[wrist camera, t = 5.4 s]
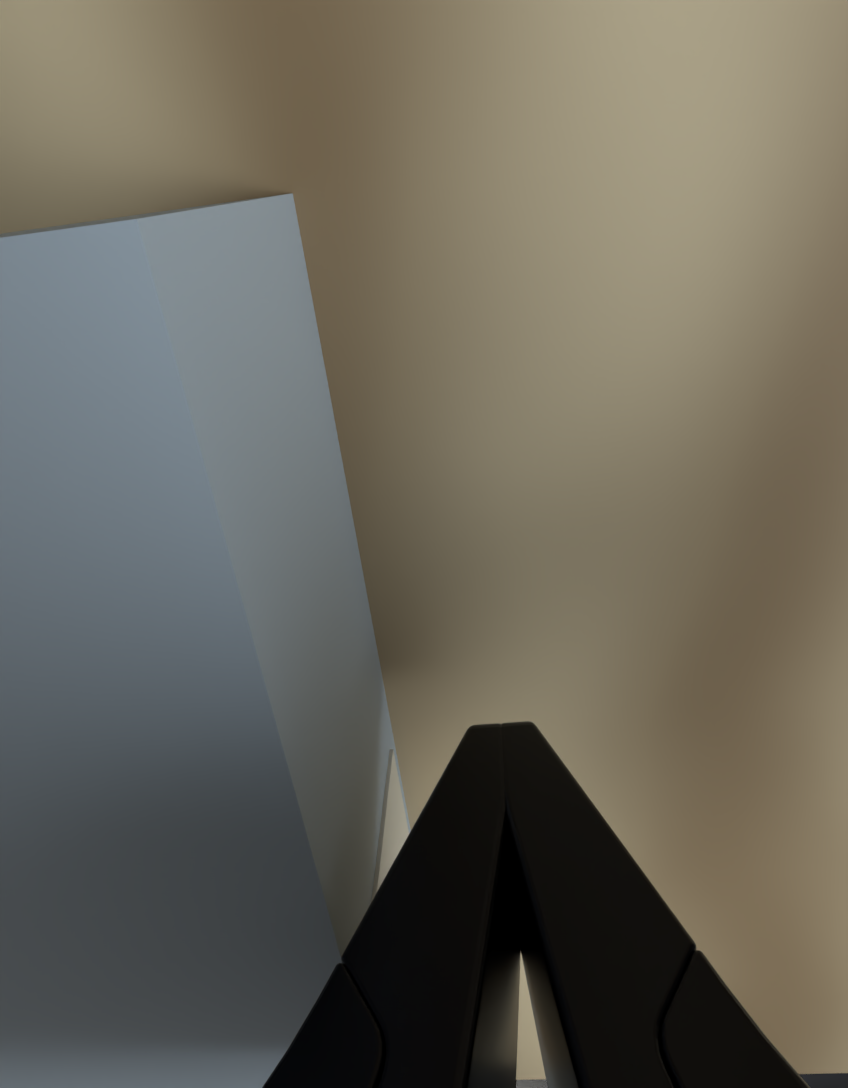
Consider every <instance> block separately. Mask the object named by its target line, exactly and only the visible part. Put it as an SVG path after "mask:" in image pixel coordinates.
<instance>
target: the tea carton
mask: <svg viewBox="0 0 848 1088" xmlns="http://www.w3.org/2000/svg"><path fill="white" fill-rule="evenodd" d="M410 832H411V829H410V824H409V818H408V813H407V808H406V802H405V797H404V791H403V786H402V781H401V775H400V770H399V764H398V759H397V754H396V748H395V743H394V737H393V732H392V727H391V721H390V716H389V710H388V705H387V700H386V694H385V689H384V683H383V678H382V673H381V667H380V662H379V656H378V651H377V646H376V640H375V635H374V629H373V624H372V619H371V613H370V608H369V602H368V597H367V592H366V586H365V581H364V575H363V570H362V565H361V559H360V554H359V548H358V543H357V538H356V532H355V527H354V521H353V516H352V511H351V505H350V500H349V494H348V489H347V484H346V478H345V473H344V467H343V462H342V457H341V451H340V446H339V440H338V435H337V430H336V424H335V419H334V414H333V408H332V403H331V397H330V392H329V387H328V381H327V376H326V370H325V365H324V360H323V354H322V349H321V343H320V338H319V333H318V327H317V322H316V316H315V311H314V306H313V300H312V295H311V289H310V284H309V279H308V273H307V268H306V262H305V257H304V252H303V246H302V241H301V236H300V230H299V225H298V219H297V214H296V209H295V203H294V198H293V193H291V194H283V195H276V196H269V197H262V198H254V199H247V200H240V201H233V202H226V203H218V204H211V205H204V206H197V207H190V208H182V209H175V210H168V211H161V212H154V213H146V214H139V215H132V216H125V217H117V218H110V219H103V220H96V221H89V222H81V223H74V224H67V225H60V226H53V227H45V228H38V229H31V230H24V231H16V232H9V233H2V234H0V1088H262V1087H263V1085H264V1084H265V1082H266V1081H267V1079H268V1078H269V1076H270V1075H271V1073H272V1072H273V1070H274V1069H275V1067H276V1066H277V1064H278V1063H279V1061H280V1060H281V1058H282V1057H283V1055H284V1054H285V1052H286V1051H287V1049H288V1048H289V1046H290V1044H291V1043H292V1041H293V1039H294V1038H295V1036H296V1034H297V1033H298V1031H299V1029H300V1028H301V1026H302V1024H303V1022H304V1021H305V1019H306V1017H307V1016H308V1014H309V1012H310V1011H311V1009H312V1007H313V1006H314V1004H315V1002H316V1001H317V999H318V997H319V995H320V993H321V992H322V990H323V988H324V986H325V984H326V983H327V981H328V979H329V977H330V975H331V973H332V972H333V970H334V968H335V966H336V965H337V964H338V963H342V961H341V956H342V954H343V953H344V951H345V949H346V947H347V945H348V943H349V942H350V940H351V938H352V936H353V934H354V933H355V931H356V929H357V927H358V925H359V924H360V922H361V920H362V918H363V916H364V915H365V913H366V911H367V909H368V907H369V906H370V904H371V902H372V900H373V898H374V897H375V895H376V893H377V891H378V889H379V888H380V886H381V884H382V882H383V880H384V878H385V877H386V875H387V873H388V871H389V869H390V868H391V866H392V864H393V862H394V860H395V859H396V857H397V855H398V853H399V851H400V850H401V848H402V846H403V844H404V842H405V841H406V839H407V837H408V835H409V833H410Z"/></svg>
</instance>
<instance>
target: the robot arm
mask: <svg viewBox="0 0 848 1088" xmlns="http://www.w3.org/2000/svg"><path fill="white" fill-rule="evenodd" d="M521 955H522V960H523V965H524V970H525V975H526V980H527V985H528V990H529V995H530V1000H531V1005H532V1010H533V1015H534V1020H535V1025H536V1030H537V1036H538V1041H539V1046H540V1051H541V1056H542V1061H543V1066H544V1071H545V1076H546V1081H547V1086H548V1088H810V1087H809V1085H808V1084H807V1083H806V1082H805V1081H804V1080H803V1078H802V1077H801V1076H800V1075H799V1074H798V1073H797V1072H796V1070H795V1069H794V1068H793V1067H792V1066H791V1065H790V1063H789V1062H788V1061H787V1060H786V1059H785V1058H784V1056H783V1055H782V1054H781V1053H780V1052H779V1051H778V1049H777V1048H776V1047H775V1046H774V1045H773V1044H772V1042H771V1041H770V1040H769V1039H768V1038H767V1036H766V1035H765V1034H764V1033H763V1031H762V1030H761V1029H760V1027H759V1026H758V1025H757V1024H756V1022H755V1021H754V1020H753V1018H752V1017H751V1016H750V1015H749V1013H748V1012H747V1011H746V1009H745V1008H744V1007H743V1006H742V1004H741V1003H740V1002H739V1000H738V999H737V998H736V997H735V995H734V994H733V993H732V991H731V990H730V989H729V988H728V986H727V985H726V984H725V982H724V981H723V980H722V978H721V977H720V975H719V974H718V973H717V971H716V970H715V969H714V967H713V966H712V964H711V963H710V962H709V960H708V959H707V958H706V956H705V955H704V954H703V952H702V951H700V950H696V943H695V942H694V940H693V939H692V938H691V936H690V935H689V934H688V932H687V931H686V930H685V928H684V927H683V925H682V924H681V923H680V921H679V920H678V919H677V917H676V916H675V915H674V913H673V912H672V910H671V909H670V908H669V906H668V905H667V904H666V902H665V901H664V900H663V898H662V897H661V895H660V894H659V893H658V891H657V890H656V889H655V887H654V886H653V884H652V883H651V882H650V880H649V879H648V878H647V876H646V875H645V874H644V872H643V871H642V869H641V868H640V867H639V865H638V864H637V863H636V861H635V860H634V859H633V857H632V856H631V854H630V853H629V852H628V850H627V849H626V848H625V846H624V845H623V843H622V842H621V841H620V839H619V838H618V837H617V835H616V834H615V833H614V831H613V830H612V828H611V827H610V826H609V824H608V823H607V822H606V820H605V819H604V818H603V816H602V815H601V813H600V812H599V811H598V809H597V808H596V807H595V805H594V804H593V802H592V801H591V800H590V798H589V797H588V796H587V794H586V793H585V792H584V790H583V789H582V787H581V786H580V785H579V783H578V782H577V781H576V779H575V778H574V777H573V775H572V774H571V772H570V771H569V770H568V768H567V767H566V766H565V764H564V763H563V761H562V760H561V759H560V757H559V756H558V755H557V753H556V752H555V751H554V749H553V748H552V746H551V745H550V744H549V742H548V741H547V740H546V738H545V737H544V736H543V734H542V733H541V731H540V730H539V729H538V727H537V726H536V725H535V724H534V723H533V722H530V721H522V722H507V723H502V724H500V723H493V724H478V725H472V726H470V727H469V728H468V729H467V731H466V732H465V734H464V736H463V738H462V739H461V741H460V743H459V745H458V747H457V748H456V750H455V752H454V754H453V756H452V757H451V759H450V761H449V763H448V765H447V767H446V768H445V770H444V772H443V774H442V776H441V777H440V779H439V781H438V783H437V785H436V786H435V788H434V790H433V792H432V794H431V795H430V797H429V799H428V801H427V803H426V804H425V806H424V808H423V810H422V812H421V813H420V815H419V817H418V819H417V821H416V822H415V824H414V826H413V828H412V830H411V832H410V833H409V835H408V837H407V839H406V841H405V842H404V844H403V846H402V848H401V850H400V851H399V853H398V855H397V857H396V859H395V860H394V862H393V864H392V866H391V868H390V869H389V871H388V873H387V875H386V877H385V878H384V880H383V882H382V884H381V886H380V888H379V889H378V891H377V893H376V895H375V897H374V898H373V900H372V902H371V904H370V906H369V907H368V909H367V911H366V913H365V915H364V916H363V918H362V920H361V922H360V924H359V925H358V927H357V929H356V931H355V933H354V934H353V936H352V938H351V940H350V942H349V943H348V945H347V947H346V949H345V951H344V953H343V954H342V956H341V961H342V963H338V964H337V965H336V966H335V968H334V970H333V972H332V973H331V975H330V977H329V979H328V981H327V983H326V984H325V986H324V988H323V990H322V992H321V993H320V995H319V997H318V999H317V1001H316V1002H315V1004H314V1006H313V1007H312V1009H311V1011H310V1012H309V1014H308V1016H307V1017H306V1019H305V1021H304V1022H303V1024H302V1026H301V1028H300V1029H299V1031H298V1033H297V1034H296V1036H295V1038H294V1039H293V1041H292V1043H291V1044H290V1046H289V1048H288V1049H287V1051H286V1052H285V1054H284V1055H283V1057H282V1058H281V1060H280V1061H279V1063H278V1064H277V1066H276V1067H275V1069H274V1070H273V1072H272V1073H271V1075H270V1076H269V1078H268V1079H267V1081H266V1082H265V1084H264V1085H263V1087H262V1088H516V1069H517V1041H518V1013H519V985H520V958H521Z"/></svg>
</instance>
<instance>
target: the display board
mask: <svg viewBox="0 0 848 1088" xmlns="http://www.w3.org/2000/svg"><path fill="white" fill-rule="evenodd" d="M291 193H293V198H294V203H295V209H296V214H297V219H298V225H299V230H300V236H301V241H302V246H303V252H304V257H305V262H306V268H307V273H308V279H309V284H310V289H311V295H312V300H313V306H314V311H315V316H316V322H317V327H318V333H319V338H320V343H321V349H322V354H323V360H324V365H325V370H326V376H327V381H328V387H329V392H330V397H331V403H332V408H333V414H334V419H335V424H336V430H337V435H338V440H339V446H340V451H341V457H342V462H343V467H344V473H345V478H346V484H347V489H348V494H349V500H350V505H351V511H352V516H353V521H354V527H355V532H356V538H357V543H358V548H359V554H360V559H361V565H362V570H363V575H364V581H365V586H366V592H367V597H368V602H369V608H370V613H371V619H372V624H373V629H374V635H375V640H376V646H377V651H378V656H379V662H380V667H381V673H382V678H383V683H384V689H385V694H386V700H387V705H388V710H389V716H390V721H391V727H392V732H393V737H394V743H395V748H396V754H397V759H398V764H399V770H400V775H401V781H402V786H403V791H404V797H405V802H406V808H407V813H408V818H409V824H410V829H411V830H412V828H413V826H414V824H415V822H416V821H417V819H418V817H419V815H420V813H421V812H422V810H423V808H424V806H425V804H426V803H427V801H428V799H429V797H430V795H431V794H432V792H433V790H434V788H435V786H436V785H437V783H438V781H439V779H440V777H441V776H442V774H443V772H444V770H445V768H446V767H447V765H448V763H449V761H450V759H451V757H452V756H453V754H454V752H455V750H456V748H457V747H458V745H459V743H460V741H461V739H462V738H463V736H464V734H465V732H466V731H467V729H468V728H469V727H470V726H472V725H478V724H493V723H500V724H502V723H507V722H522V721H530V722H533V723H534V724H535V725H536V726H537V727H538V729H539V730H540V731H541V733H542V734H543V736H544V737H545V738H546V740H547V741H548V742H549V744H550V745H551V746H552V748H553V749H554V751H555V752H556V753H557V755H558V756H559V757H560V759H561V760H562V761H563V763H564V764H565V766H566V767H567V768H568V770H569V771H570V772H571V774H572V775H573V777H574V778H575V779H576V781H577V782H578V783H579V785H580V786H581V787H582V789H583V790H584V792H585V793H586V794H587V796H588V797H589V798H590V800H591V801H592V802H593V804H594V805H595V807H596V808H597V809H598V811H599V812H600V813H601V815H602V816H603V818H604V819H605V820H606V822H607V823H608V824H609V826H610V827H611V828H612V830H613V831H614V833H615V834H616V835H617V837H618V838H619V839H620V841H621V842H622V843H623V845H624V846H625V848H626V849H627V850H628V852H629V853H630V854H631V856H632V857H633V859H634V860H635V861H636V863H637V864H638V865H639V867H640V868H641V869H642V871H643V872H644V874H645V875H646V876H647V878H648V879H649V880H650V882H651V883H652V884H653V886H654V887H655V889H656V890H657V891H658V893H659V894H660V895H661V897H662V898H663V900H664V901H665V902H666V904H667V905H668V906H669V908H670V909H671V910H672V912H673V913H674V915H675V916H676V917H677V919H678V920H679V921H680V923H681V924H682V925H683V927H684V928H685V930H686V931H687V932H688V934H689V935H690V936H691V938H692V939H693V940H694V942H695V943H696V950H700V951H702V952H703V954H704V955H705V956H706V958H707V959H708V960H709V962H710V963H711V964H712V966H713V967H714V969H715V970H716V971H717V973H718V974H719V975H720V977H721V978H722V980H723V981H724V982H725V984H726V985H727V986H728V988H729V989H730V990H731V991H732V993H733V994H734V995H735V997H736V998H737V999H738V1000H739V1002H740V1003H741V1004H742V1006H743V1007H744V1008H745V1009H746V1011H747V1012H748V1013H749V1015H750V1016H751V1017H752V1018H753V1020H754V1021H755V1022H756V1024H757V1025H758V1026H759V1027H760V1029H761V1030H762V1031H763V1033H764V1034H765V1035H766V1036H767V1038H768V1039H769V1040H770V1041H771V1042H772V1044H773V1045H774V1046H775V1047H776V1048H777V1049H778V1051H779V1052H780V1053H781V1054H782V1055H783V1056H784V1058H785V1059H786V1060H787V1061H788V1062H789V1063H790V1065H791V1066H792V1067H793V1068H794V1069H795V1070H796V1072H797V1073H798V1074H823V1073H848V0H0V234H2V233H9V232H16V231H24V230H31V229H38V228H45V227H53V226H60V225H67V224H74V223H81V222H89V221H96V220H103V219H110V218H117V217H125V216H132V215H139V214H146V213H154V212H161V211H168V210H175V209H182V208H190V207H197V206H204V205H211V204H218V203H226V202H233V201H240V200H247V199H254V198H262V197H269V196H276V195H283V194H291ZM535 1079H546V1076H545V1071H544V1066H543V1061H542V1056H541V1051H540V1046H539V1041H538V1036H537V1030H536V1025H535V1020H534V1015H533V1010H532V1005H531V1000H530V995H529V990H528V985H527V980H526V975H525V970H524V965H523V960H522V955H521V958H520V985H519V1013H518V1041H517V1069H516V1080H535Z"/></svg>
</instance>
